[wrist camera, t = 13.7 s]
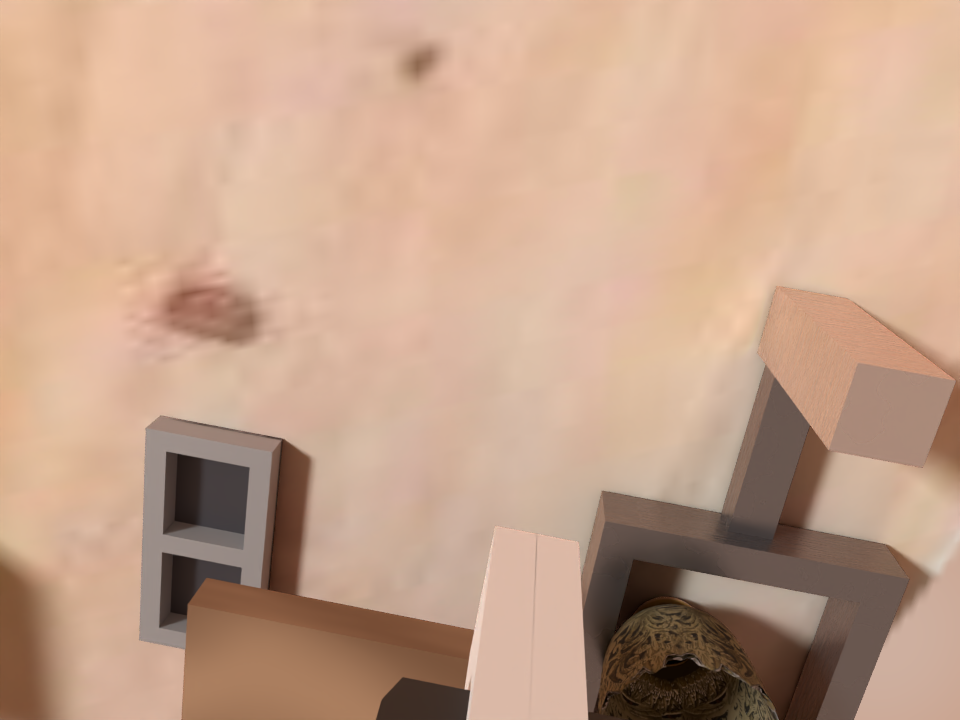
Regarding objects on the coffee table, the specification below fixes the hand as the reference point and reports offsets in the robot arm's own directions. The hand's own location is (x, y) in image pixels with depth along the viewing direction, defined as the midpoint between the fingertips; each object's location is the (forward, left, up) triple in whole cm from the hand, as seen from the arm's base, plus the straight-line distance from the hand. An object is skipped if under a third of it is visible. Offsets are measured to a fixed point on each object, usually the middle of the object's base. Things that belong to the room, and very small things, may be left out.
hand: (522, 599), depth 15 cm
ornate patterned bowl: (-15, -9, -23) cm, 29 cm away
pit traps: (-15, +14, -22) cm, 30 cm away
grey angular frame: (-10, -11, -22) cm, 27 cm away
